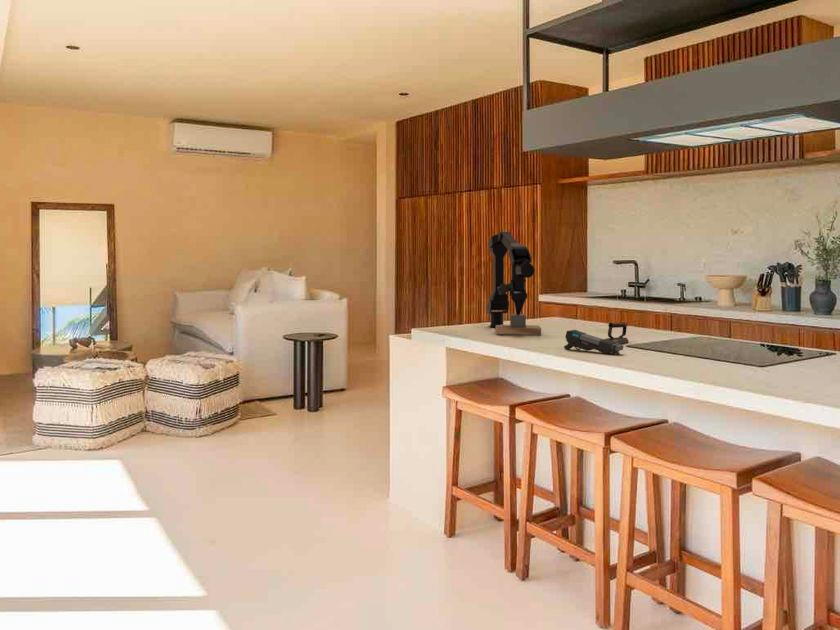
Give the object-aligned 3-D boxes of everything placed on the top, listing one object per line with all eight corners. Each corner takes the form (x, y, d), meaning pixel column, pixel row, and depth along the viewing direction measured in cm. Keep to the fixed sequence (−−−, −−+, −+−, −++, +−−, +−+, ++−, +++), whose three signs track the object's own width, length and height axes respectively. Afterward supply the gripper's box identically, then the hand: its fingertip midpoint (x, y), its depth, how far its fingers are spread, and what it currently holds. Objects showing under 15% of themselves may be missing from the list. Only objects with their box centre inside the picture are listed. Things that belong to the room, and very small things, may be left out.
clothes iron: (600, 344, 272) (602, 318, 273) (619, 349, 278) (621, 323, 279) (615, 345, 266) (618, 318, 267) (634, 349, 273) (637, 323, 274)
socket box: (495, 332, 306) (495, 323, 306) (538, 332, 305) (538, 323, 304) (496, 335, 295) (496, 326, 295) (541, 335, 294) (541, 327, 294)
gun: (566, 347, 260) (575, 321, 256) (615, 371, 248) (625, 345, 245) (560, 348, 256) (569, 322, 253) (609, 373, 245) (619, 347, 242)
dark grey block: (510, 330, 303) (510, 313, 302) (524, 330, 303) (524, 314, 302) (510, 332, 298) (510, 315, 297) (525, 332, 297) (525, 315, 296)
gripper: (497, 275, 308) (497, 312, 309) (499, 277, 289) (498, 316, 291) (524, 275, 307) (524, 312, 308) (527, 277, 288) (527, 317, 290)
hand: (518, 314), depth 299 cm, fingers closed, pressing on dark grey block
